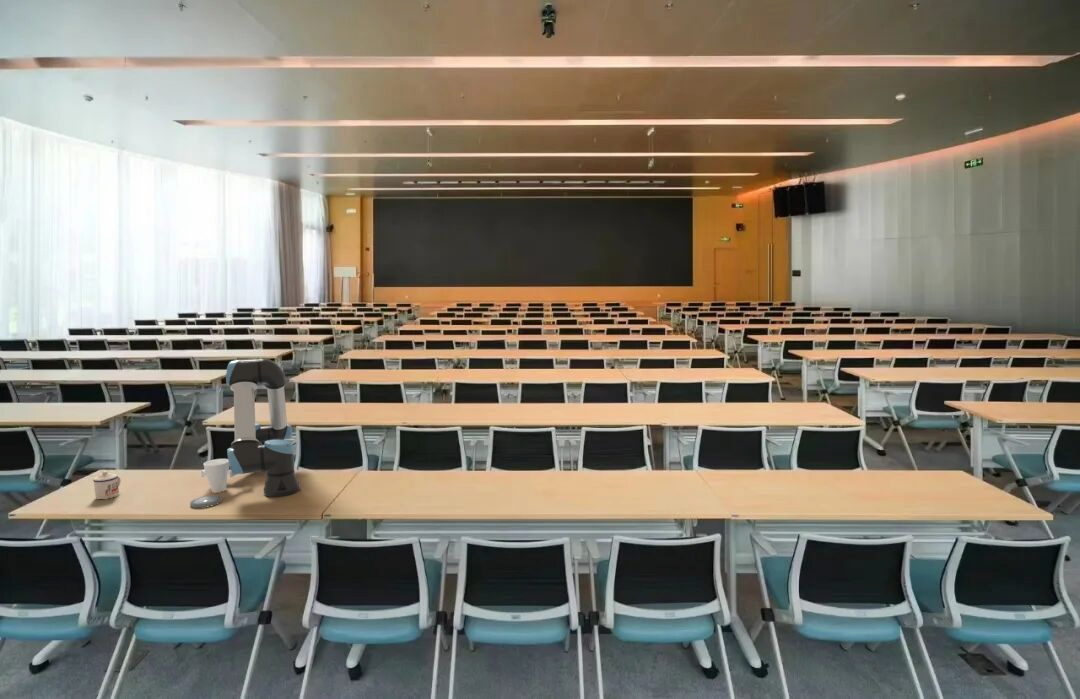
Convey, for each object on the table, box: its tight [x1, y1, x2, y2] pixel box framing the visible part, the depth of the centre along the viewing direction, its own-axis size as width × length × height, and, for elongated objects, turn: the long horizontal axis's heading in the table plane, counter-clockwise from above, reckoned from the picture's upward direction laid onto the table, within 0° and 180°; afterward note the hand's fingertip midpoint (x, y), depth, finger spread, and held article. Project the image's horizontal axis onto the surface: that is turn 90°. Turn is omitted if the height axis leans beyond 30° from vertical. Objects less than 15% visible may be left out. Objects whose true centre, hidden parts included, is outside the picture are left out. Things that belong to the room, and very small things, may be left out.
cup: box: [203, 458, 230, 493], centre depth 283 cm, size 10×10×14 cm
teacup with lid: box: [92, 470, 122, 500], centre depth 280 cm, size 12×9×12 cm
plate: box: [189, 495, 223, 509], centre depth 268 cm, size 12×12×1 cm
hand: (216, 474), depth 283 cm, fingers open, 13 cm apart
